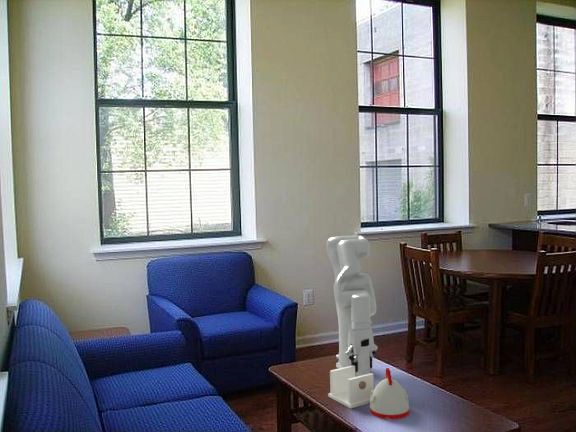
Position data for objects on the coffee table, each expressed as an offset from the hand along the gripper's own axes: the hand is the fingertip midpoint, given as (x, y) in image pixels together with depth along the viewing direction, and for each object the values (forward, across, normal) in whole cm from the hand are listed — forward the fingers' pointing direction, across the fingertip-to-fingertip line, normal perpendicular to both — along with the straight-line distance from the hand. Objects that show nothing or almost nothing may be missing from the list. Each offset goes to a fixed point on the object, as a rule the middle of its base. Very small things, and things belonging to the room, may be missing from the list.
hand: (362, 368), depth 228 cm
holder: (+7, +12, +9) cm, 16 cm away
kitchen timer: (+7, +8, +26) cm, 28 cm away
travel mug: (+7, 0, 0) cm, 7 cm away
